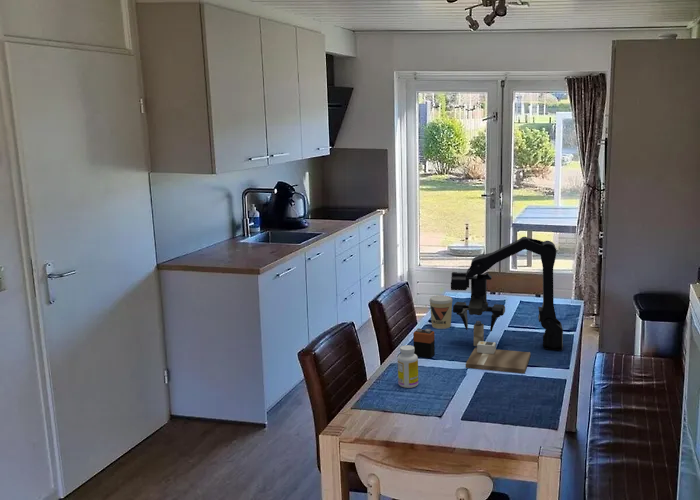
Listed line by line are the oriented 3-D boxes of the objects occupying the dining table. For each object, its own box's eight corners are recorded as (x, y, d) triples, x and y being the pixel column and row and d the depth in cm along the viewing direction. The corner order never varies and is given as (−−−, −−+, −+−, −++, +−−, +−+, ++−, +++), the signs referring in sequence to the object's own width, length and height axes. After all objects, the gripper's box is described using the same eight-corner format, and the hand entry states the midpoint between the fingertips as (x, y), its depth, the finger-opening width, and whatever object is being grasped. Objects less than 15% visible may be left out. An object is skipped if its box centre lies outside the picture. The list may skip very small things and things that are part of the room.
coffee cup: (427, 328, 288) (426, 300, 286) (433, 321, 297) (432, 294, 294) (449, 330, 285) (449, 301, 282) (455, 323, 293) (454, 295, 291)
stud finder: (495, 350, 255) (495, 342, 255) (493, 354, 252) (493, 345, 251) (479, 348, 257) (479, 340, 257) (477, 352, 254) (477, 344, 253)
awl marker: (483, 343, 267) (483, 320, 266) (482, 346, 265) (482, 323, 263) (475, 343, 269) (475, 320, 267) (473, 345, 266) (473, 322, 264)
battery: (430, 358, 255) (430, 332, 252) (413, 355, 258) (412, 329, 256) (435, 354, 258) (434, 328, 256) (418, 352, 261) (417, 326, 259)
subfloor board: (530, 356, 253) (530, 352, 252) (524, 373, 237) (524, 369, 237) (474, 351, 260) (474, 347, 259) (465, 367, 244) (465, 363, 244)
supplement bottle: (420, 381, 234) (419, 344, 231) (415, 389, 228) (415, 351, 225) (401, 379, 236) (400, 343, 233) (395, 387, 230) (394, 350, 227)
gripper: (449, 294, 258) (449, 335, 261) (500, 297, 252) (500, 339, 255) (455, 287, 268) (456, 326, 272) (505, 289, 262) (505, 329, 265)
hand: (478, 330), depth 265 cm, fingers open, 9 cm apart
